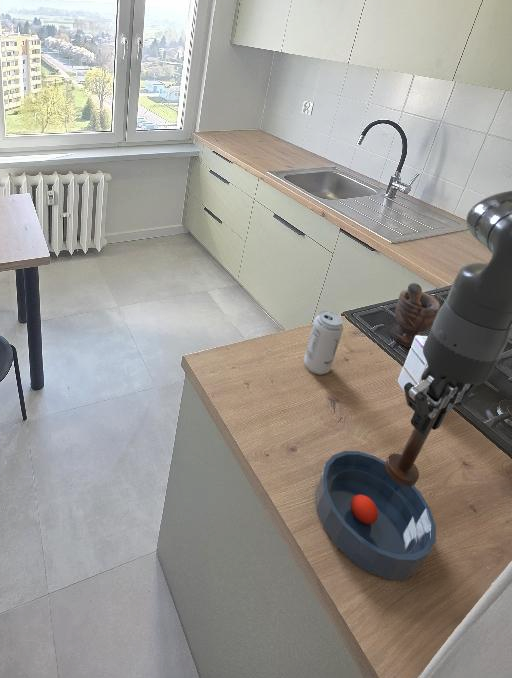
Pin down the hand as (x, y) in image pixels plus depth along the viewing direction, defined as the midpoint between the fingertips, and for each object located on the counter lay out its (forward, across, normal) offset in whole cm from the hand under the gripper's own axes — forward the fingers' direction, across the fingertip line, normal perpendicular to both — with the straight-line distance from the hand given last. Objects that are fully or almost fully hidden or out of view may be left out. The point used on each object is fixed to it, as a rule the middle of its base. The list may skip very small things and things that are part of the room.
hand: (424, 425), depth 63 cm
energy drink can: (+22, +12, +30) cm, 39 cm away
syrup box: (+23, +29, +17) cm, 41 cm away
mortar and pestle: (+23, +41, +30) cm, 56 cm away
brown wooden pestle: (+11, 0, 0) cm, 11 cm away
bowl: (+22, -4, 0) cm, 23 cm away
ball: (+20, -4, +1) cm, 20 cm away
